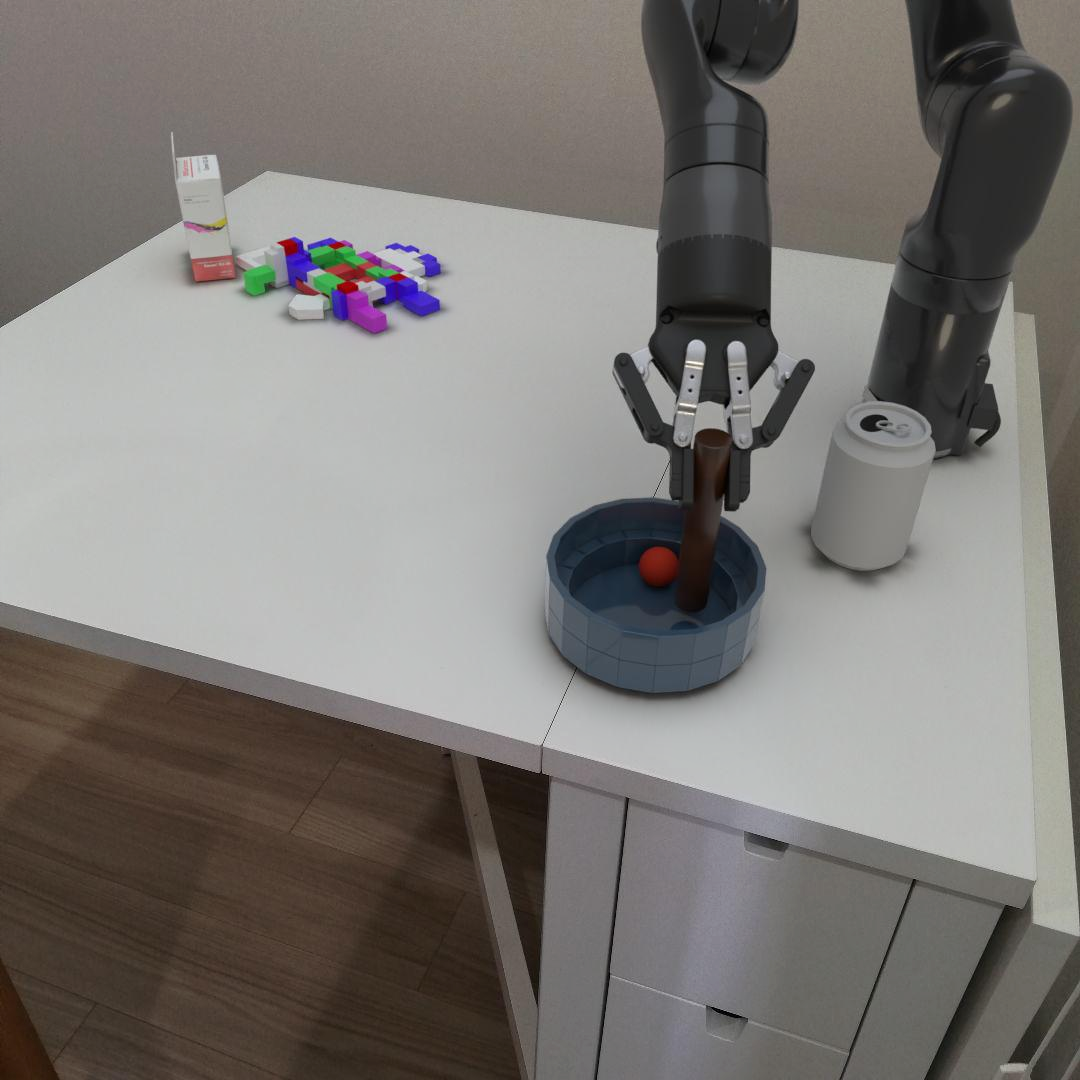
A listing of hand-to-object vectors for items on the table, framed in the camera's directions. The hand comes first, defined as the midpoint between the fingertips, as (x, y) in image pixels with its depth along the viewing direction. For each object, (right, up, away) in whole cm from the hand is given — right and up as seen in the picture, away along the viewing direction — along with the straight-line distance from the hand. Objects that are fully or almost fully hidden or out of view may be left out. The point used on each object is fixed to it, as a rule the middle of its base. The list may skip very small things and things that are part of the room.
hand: (709, 507), depth 69 cm
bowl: (-3, -8, +9) cm, 13 cm away
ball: (-2, -4, +11) cm, 12 cm away
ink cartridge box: (-50, +30, +57) cm, 82 cm away
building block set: (-33, +28, +54) cm, 69 cm away
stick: (0, -7, +8) cm, 10 cm away
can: (+15, -3, +17) cm, 22 cm away
